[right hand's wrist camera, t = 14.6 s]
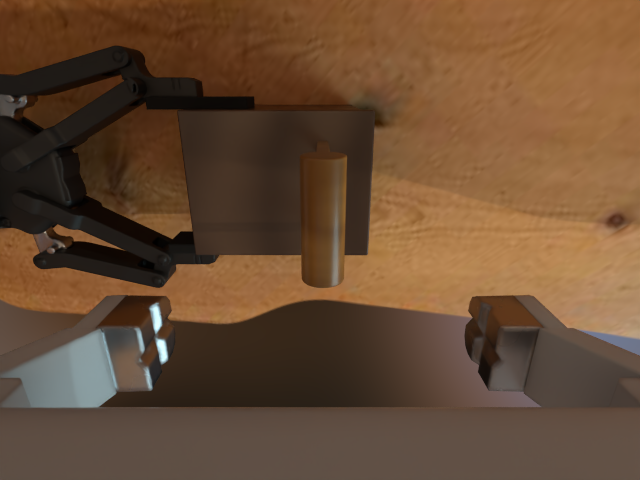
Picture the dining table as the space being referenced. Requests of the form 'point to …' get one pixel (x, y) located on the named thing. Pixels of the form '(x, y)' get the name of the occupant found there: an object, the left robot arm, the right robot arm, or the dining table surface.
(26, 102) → the left robot arm
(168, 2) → the dining table surface
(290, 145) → the lid
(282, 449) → the right robot arm
